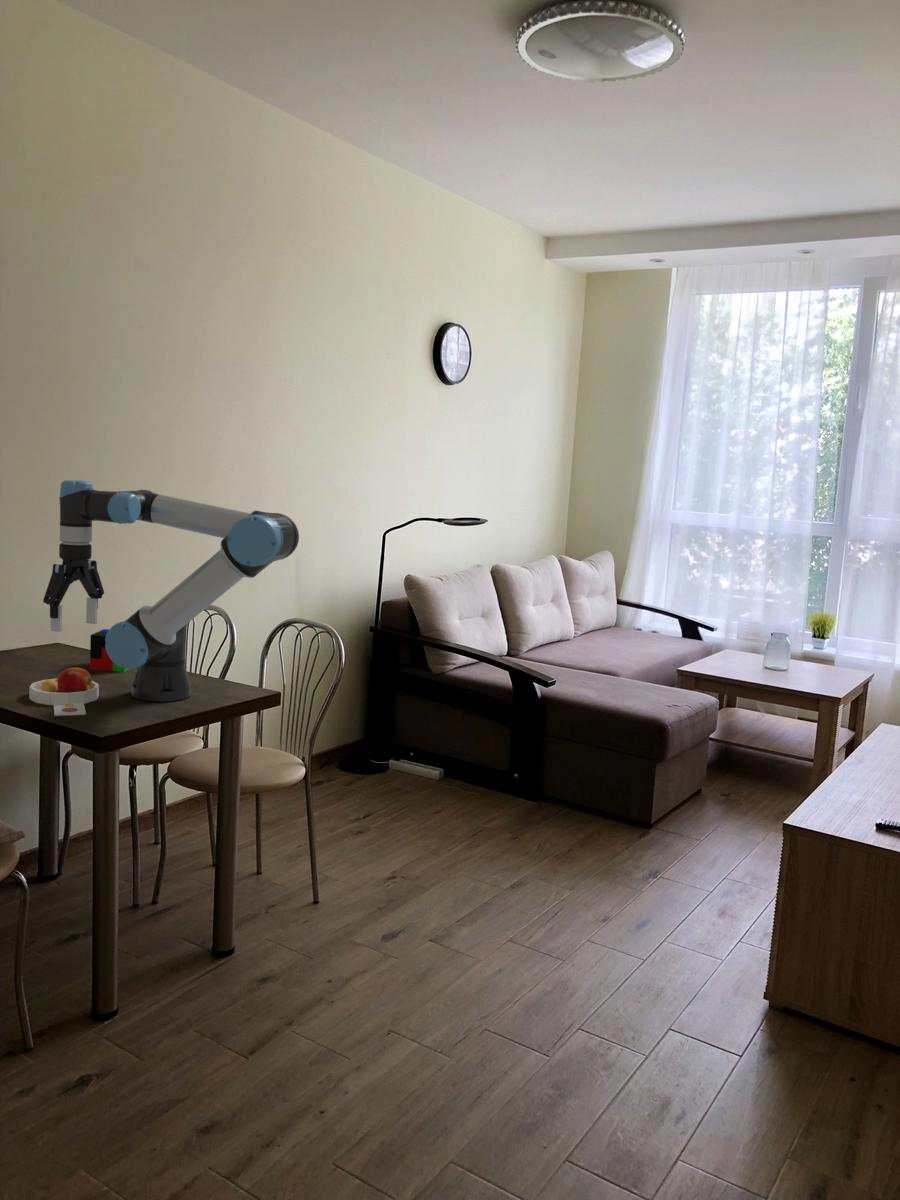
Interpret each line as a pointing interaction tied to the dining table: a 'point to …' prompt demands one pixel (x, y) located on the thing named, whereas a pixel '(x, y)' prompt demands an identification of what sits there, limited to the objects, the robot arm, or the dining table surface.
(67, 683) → the apple
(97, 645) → the puzzle toy
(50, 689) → the orange egg
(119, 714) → the dining table surface
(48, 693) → the ring
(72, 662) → the dining table surface
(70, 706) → the card
